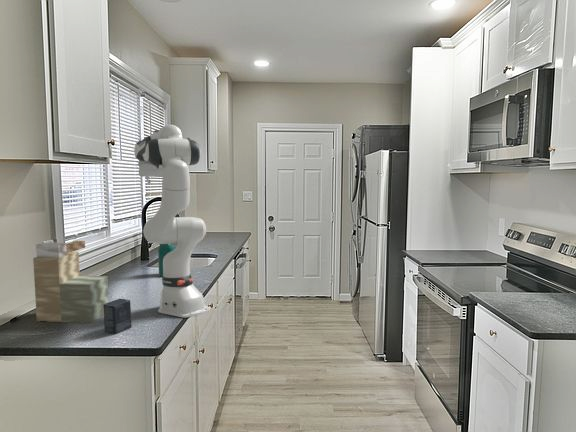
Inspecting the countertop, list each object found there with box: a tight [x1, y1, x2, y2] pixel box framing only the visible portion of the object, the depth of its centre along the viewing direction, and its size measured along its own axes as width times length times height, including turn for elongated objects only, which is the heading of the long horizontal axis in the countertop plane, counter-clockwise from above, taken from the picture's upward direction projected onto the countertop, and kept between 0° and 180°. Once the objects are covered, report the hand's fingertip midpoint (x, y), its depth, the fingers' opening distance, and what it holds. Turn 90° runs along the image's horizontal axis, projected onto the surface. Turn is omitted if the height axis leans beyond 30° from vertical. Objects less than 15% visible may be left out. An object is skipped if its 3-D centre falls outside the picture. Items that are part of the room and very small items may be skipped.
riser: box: [32, 251, 110, 324], centre depth 171 cm, size 14×22×25 cm, turn 86°
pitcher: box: [157, 243, 177, 278], centre depth 241 cm, size 10×8×22 cm
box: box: [103, 298, 132, 335], centre depth 156 cm, size 8×6×11 cm
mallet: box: [35, 240, 86, 258], centre depth 176 cm, size 23×9×5 cm, turn 176°
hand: (158, 183), depth 229 cm, fingers open, 8 cm apart
